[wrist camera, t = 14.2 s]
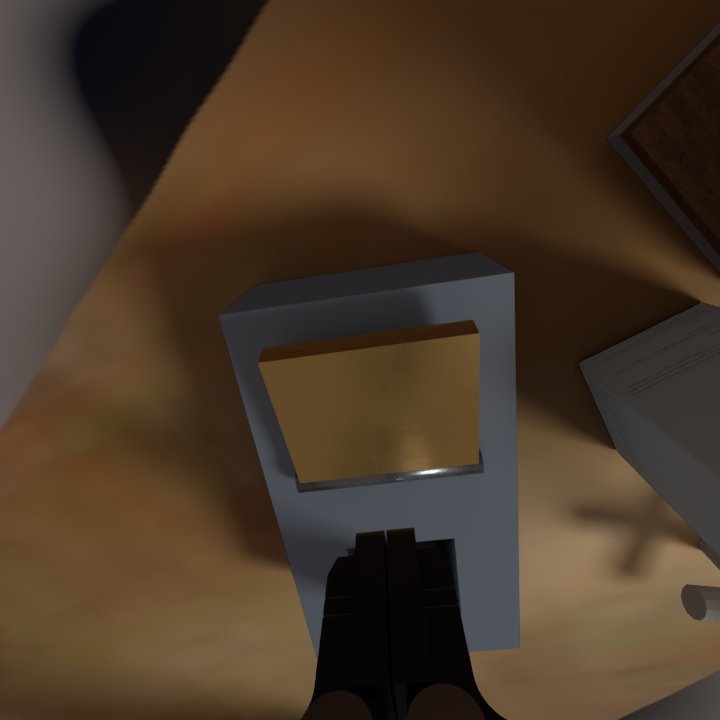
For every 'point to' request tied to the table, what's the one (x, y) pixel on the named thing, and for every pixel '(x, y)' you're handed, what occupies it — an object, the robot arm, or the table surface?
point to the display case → (681, 144)
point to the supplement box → (668, 411)
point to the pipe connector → (703, 594)
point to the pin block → (403, 499)
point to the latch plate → (379, 405)
